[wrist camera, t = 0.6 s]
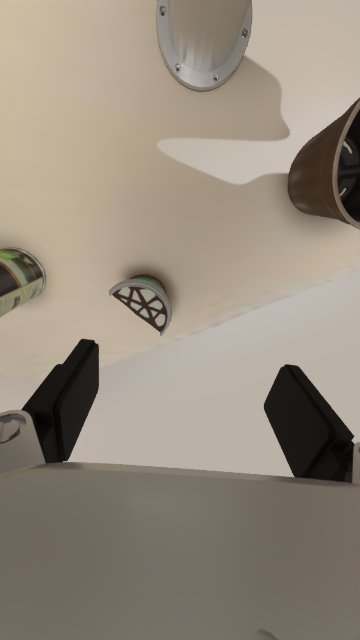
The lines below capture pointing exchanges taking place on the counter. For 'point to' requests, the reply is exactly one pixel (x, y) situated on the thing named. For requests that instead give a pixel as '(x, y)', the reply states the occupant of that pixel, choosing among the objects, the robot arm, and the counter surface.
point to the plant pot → (330, 171)
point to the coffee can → (19, 278)
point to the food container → (145, 300)
